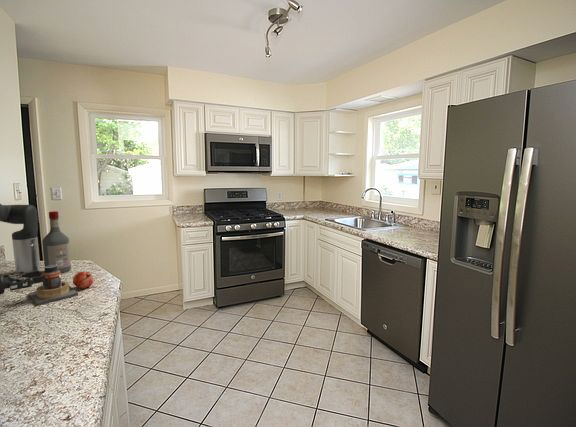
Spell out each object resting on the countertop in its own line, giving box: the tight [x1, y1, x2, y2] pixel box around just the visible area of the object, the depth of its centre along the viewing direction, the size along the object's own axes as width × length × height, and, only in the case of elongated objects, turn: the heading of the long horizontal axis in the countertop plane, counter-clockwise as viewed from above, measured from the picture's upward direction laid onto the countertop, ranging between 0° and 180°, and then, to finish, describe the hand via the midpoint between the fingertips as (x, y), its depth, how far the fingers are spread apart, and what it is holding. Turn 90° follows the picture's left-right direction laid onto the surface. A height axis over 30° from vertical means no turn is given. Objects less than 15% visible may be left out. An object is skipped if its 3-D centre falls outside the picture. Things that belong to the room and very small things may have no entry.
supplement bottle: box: [41, 265, 62, 290], centre depth 122 cm, size 6×6×11 cm
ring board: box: [28, 280, 79, 307], centre depth 123 cm, size 14×13×4 cm
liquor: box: [42, 210, 72, 274], centre depth 148 cm, size 9×9×30 cm
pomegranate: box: [72, 271, 95, 290], centre depth 131 cm, size 7×7×10 cm
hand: (42, 275), depth 119 cm, fingers open, 8 cm apart
